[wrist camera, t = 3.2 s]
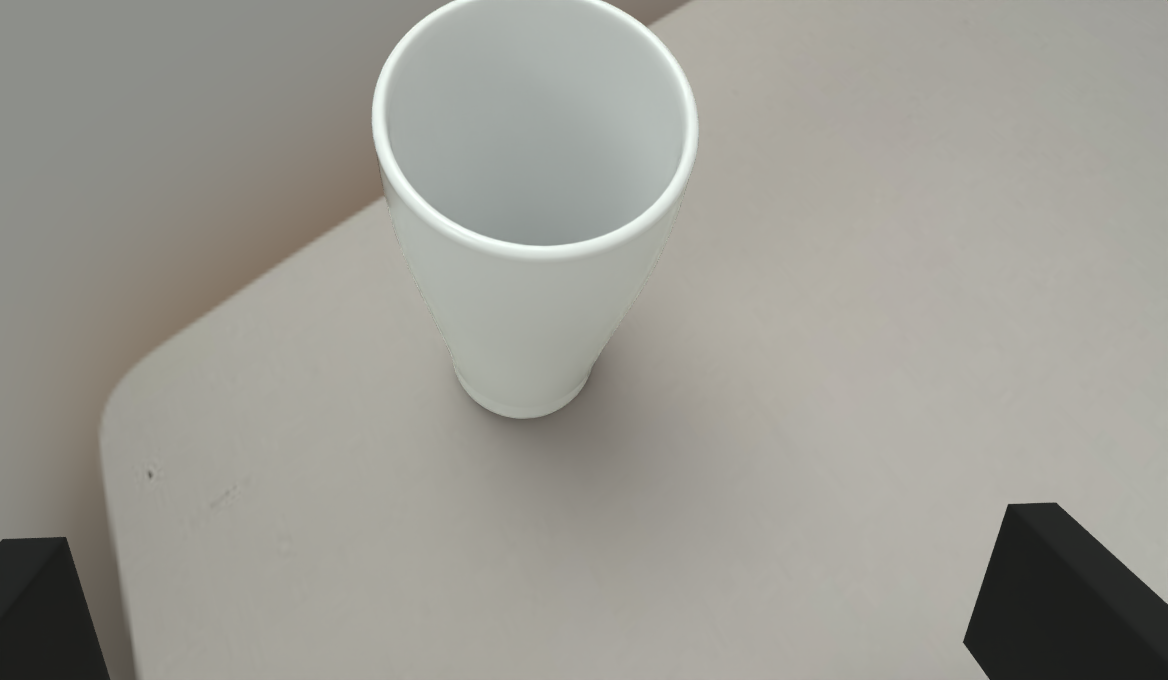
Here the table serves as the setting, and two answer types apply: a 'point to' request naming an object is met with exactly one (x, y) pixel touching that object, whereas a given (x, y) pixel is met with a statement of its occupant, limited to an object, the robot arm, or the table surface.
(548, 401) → the drinking glass
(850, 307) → the table surface
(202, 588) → the table surface
